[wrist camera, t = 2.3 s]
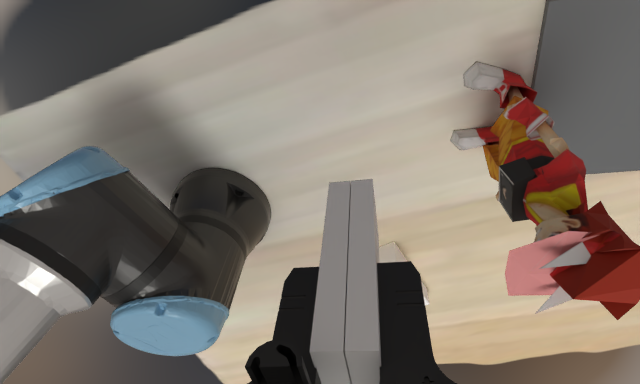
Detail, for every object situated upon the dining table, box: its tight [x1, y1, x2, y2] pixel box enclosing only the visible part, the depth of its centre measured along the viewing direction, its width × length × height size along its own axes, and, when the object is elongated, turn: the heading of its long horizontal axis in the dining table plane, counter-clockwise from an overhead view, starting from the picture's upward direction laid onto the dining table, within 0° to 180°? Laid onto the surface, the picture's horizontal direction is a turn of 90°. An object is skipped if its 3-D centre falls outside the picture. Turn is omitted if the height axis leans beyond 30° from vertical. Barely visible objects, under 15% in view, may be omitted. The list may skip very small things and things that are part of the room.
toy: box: [451, 62, 640, 320], centre depth 35 cm, size 12×9×30 cm
